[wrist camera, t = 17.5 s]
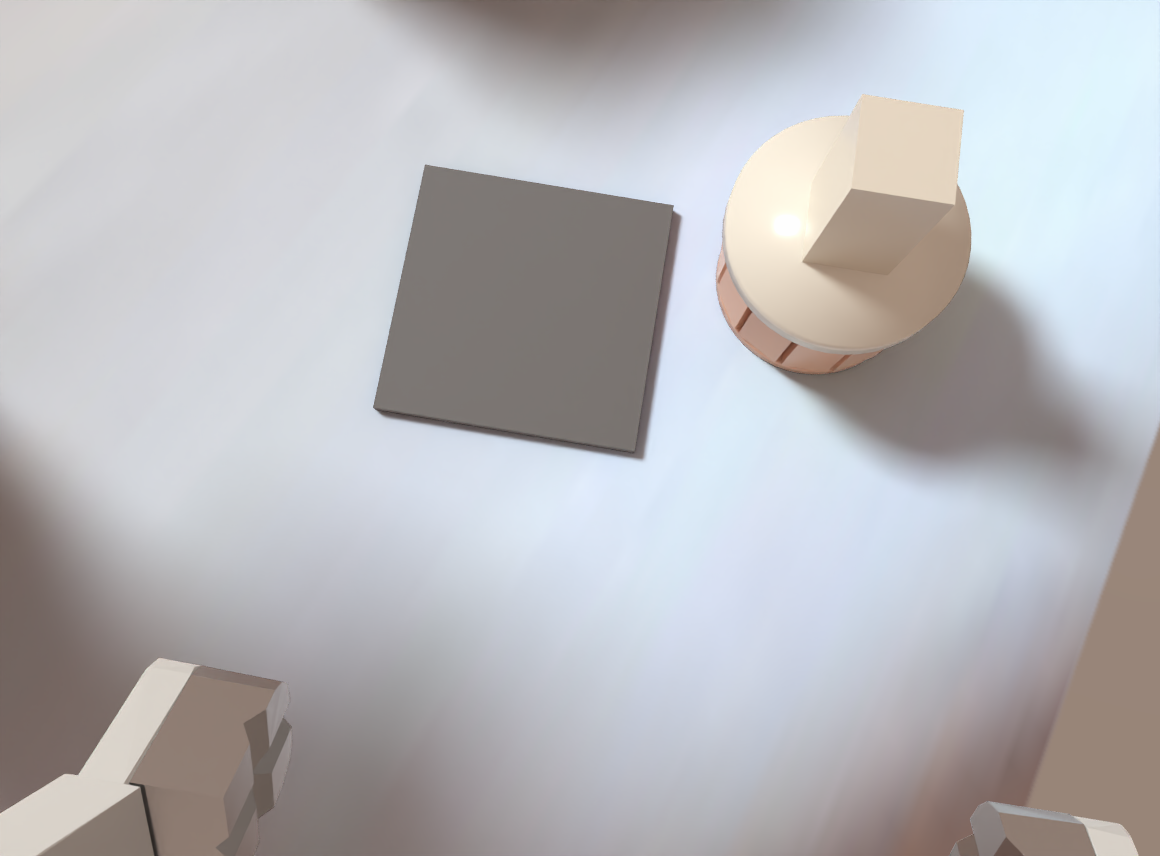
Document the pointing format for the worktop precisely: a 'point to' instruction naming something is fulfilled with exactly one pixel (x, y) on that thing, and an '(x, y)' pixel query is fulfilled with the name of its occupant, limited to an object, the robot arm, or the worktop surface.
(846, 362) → the bowl
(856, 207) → the lid
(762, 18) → the worktop surface
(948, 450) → the worktop surface
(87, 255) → the worktop surface
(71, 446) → the worktop surface
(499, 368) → the rubber mat
